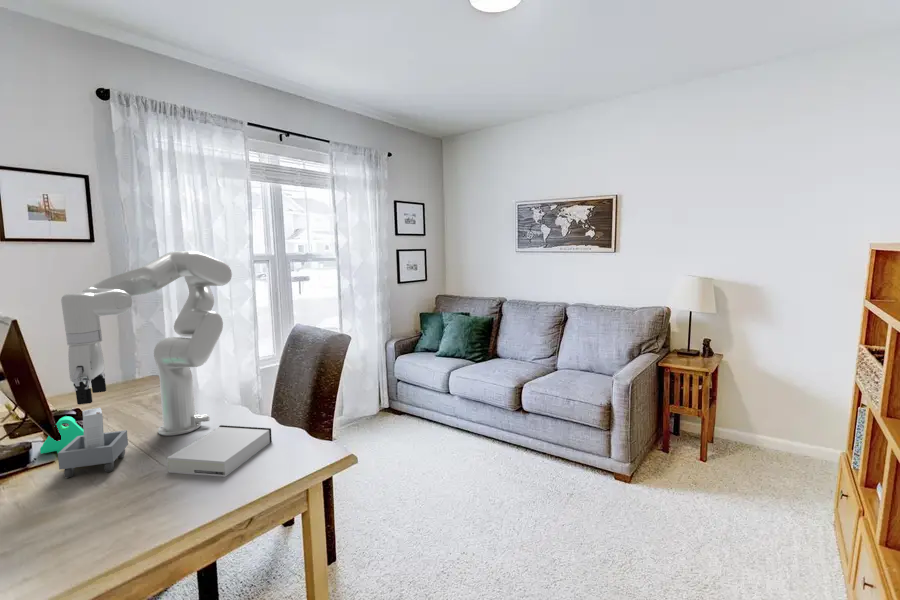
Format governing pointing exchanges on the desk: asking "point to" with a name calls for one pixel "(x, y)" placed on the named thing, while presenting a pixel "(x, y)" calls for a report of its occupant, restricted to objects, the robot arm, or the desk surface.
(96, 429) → the skincare box
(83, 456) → the grey square tray
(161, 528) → the desk surface
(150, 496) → the desk surface
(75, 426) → the camera mount
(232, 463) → the disc drive
